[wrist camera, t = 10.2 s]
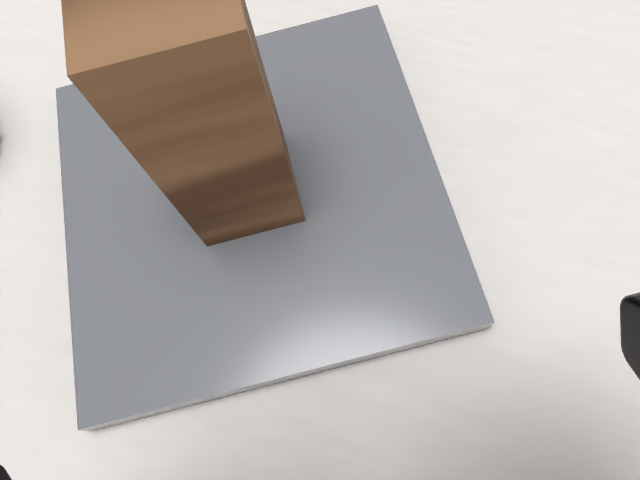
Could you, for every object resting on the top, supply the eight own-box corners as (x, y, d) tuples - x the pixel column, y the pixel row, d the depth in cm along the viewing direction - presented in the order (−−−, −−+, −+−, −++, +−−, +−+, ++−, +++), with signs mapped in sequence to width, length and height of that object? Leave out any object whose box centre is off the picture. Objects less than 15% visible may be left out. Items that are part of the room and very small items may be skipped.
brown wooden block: (305, 220, 23) (247, 29, 12) (206, 246, 23) (67, 75, 12) (284, 136, 24) (216, -96, 14) (192, 160, 24) (57, -54, 14)
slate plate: (489, 327, 21) (494, 322, 20) (91, 430, 21) (77, 429, 20) (377, 20, 27) (377, 4, 26) (66, 101, 27) (55, 88, 26)
